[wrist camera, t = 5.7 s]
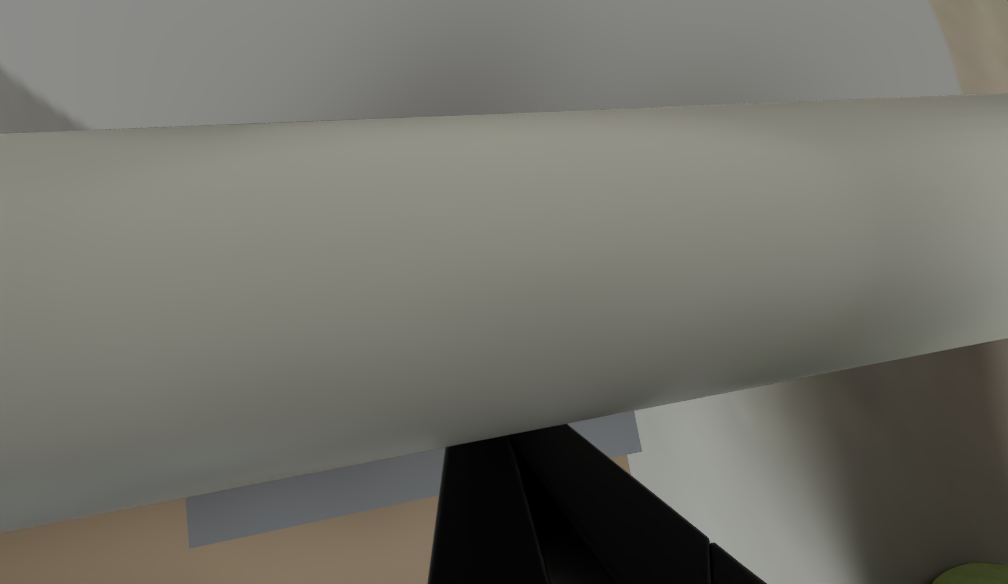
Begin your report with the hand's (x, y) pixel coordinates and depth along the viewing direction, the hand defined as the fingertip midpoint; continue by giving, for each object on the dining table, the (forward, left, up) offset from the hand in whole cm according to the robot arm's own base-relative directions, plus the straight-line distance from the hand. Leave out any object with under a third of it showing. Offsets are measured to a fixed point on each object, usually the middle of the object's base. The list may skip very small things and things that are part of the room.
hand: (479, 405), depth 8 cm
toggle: (0, +1, -5) cm, 5 cm away
